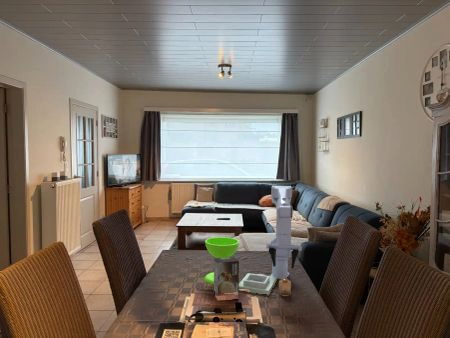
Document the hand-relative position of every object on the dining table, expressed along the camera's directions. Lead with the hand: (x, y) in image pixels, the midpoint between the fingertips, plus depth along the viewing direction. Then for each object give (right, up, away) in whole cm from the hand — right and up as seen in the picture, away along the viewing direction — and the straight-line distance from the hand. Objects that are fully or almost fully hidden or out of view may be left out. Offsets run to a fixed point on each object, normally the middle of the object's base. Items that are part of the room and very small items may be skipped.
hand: (283, 267), depth 151 cm
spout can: (+1, -12, +3) cm, 12 cm away
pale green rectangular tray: (-10, -12, +11) cm, 19 cm away
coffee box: (-24, -12, -3) cm, 27 cm away
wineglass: (-26, -11, +19) cm, 34 cm away
